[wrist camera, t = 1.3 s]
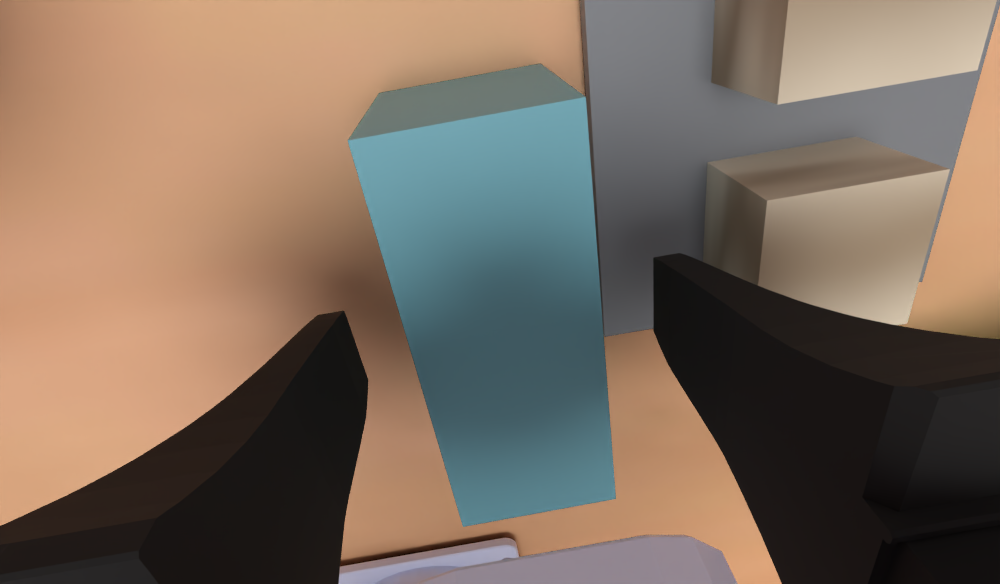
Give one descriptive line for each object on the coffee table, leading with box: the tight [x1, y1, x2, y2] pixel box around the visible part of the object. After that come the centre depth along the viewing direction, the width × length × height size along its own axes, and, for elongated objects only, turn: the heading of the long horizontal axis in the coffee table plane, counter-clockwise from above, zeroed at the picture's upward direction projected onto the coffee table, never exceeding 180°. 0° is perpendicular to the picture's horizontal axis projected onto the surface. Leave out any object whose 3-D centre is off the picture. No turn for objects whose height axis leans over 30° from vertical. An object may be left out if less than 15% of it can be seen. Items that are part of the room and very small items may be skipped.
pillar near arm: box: [703, 137, 950, 325], centre depth 14 cm, size 4×4×3 cm
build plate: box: [580, 0, 1000, 337], centre depth 14 cm, size 12×10×1 cm
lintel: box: [348, 64, 616, 527], centre depth 13 cm, size 10×4×5 cm, turn 9°
